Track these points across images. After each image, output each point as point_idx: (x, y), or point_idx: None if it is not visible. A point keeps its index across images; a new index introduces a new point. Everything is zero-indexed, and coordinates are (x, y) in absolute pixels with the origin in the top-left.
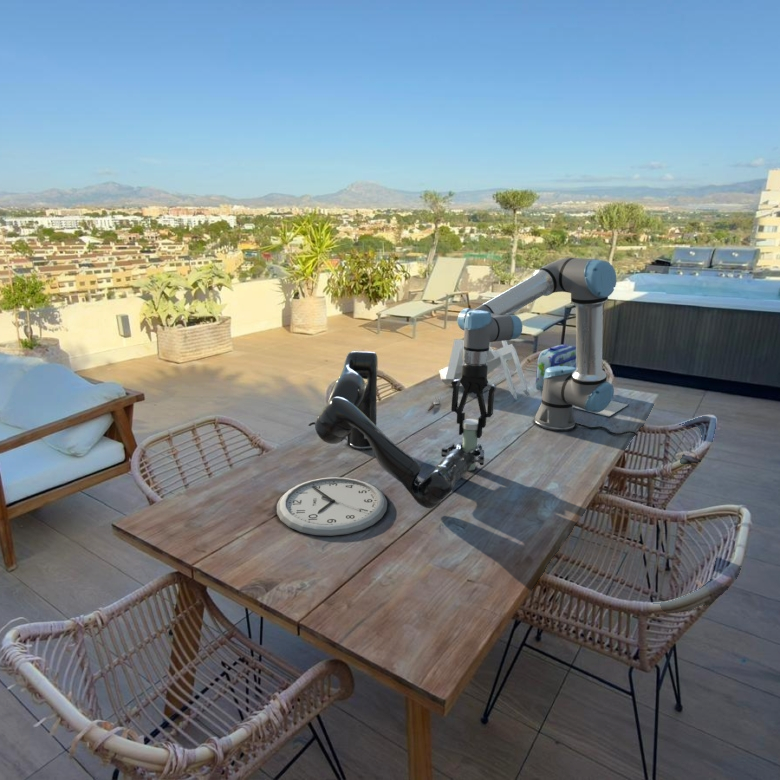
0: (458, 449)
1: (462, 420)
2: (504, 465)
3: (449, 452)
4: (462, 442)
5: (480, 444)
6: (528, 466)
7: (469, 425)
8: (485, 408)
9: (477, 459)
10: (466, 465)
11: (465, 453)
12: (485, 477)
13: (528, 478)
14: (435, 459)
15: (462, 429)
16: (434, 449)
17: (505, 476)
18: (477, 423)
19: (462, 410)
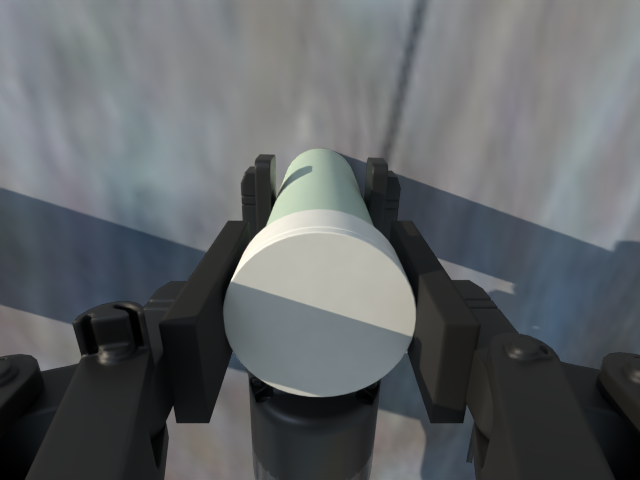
0: (310, 443)
1: (225, 357)
2: (495, 67)
3: (267, 447)
4: (259, 199)
5: (386, 176)
6: (633, 12)
7: (327, 390)
8: (591, 461)
9: (406, 353)
10: (373, 445)
11: (355, 436)
12: None
13: (617, 168)
14: (139, 166)
15: None
16: (61, 32)
17: (506, 196)
18: (398, 341)
19: (150, 378)
